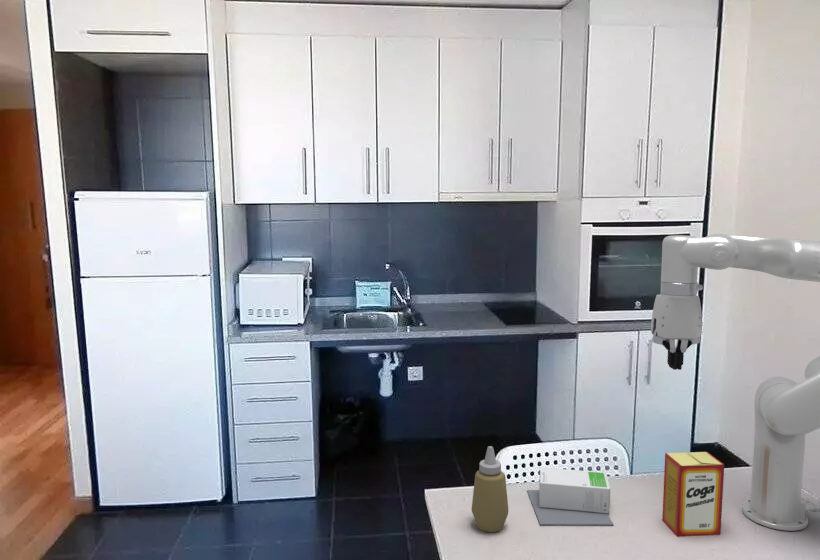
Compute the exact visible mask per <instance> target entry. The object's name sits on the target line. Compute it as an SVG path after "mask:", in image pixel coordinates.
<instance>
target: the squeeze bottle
mask: <svg viewBox="0 0 820 560" xmlns="http://www.w3.org/2000/svg"><path fill="white" fill-rule="evenodd" d="M495 454H496V453H495V450H494V446H492V445H490V446H489V445H488V446H487V449H486V452H485V457H484V459H482V460H480V462H479V466H478V467H479V470H477V471H476V472H475V474H474V481H473V482H474V483H473V491H472V493H473V494H472V501H471V513H472V516H473V519H474V522H475V525H476V527H477V528H478V529H479V530H480V531H483V532H487V533H495V532H500V531H501V530H502V529H503V528H504V526H505V523H506V520H507V517H508V515H509V501H508V491H507V490H508V489H507V478H506V473H504V471H502V463H501V461H499V460H497V459H496V455H495Z"/></svg>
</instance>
